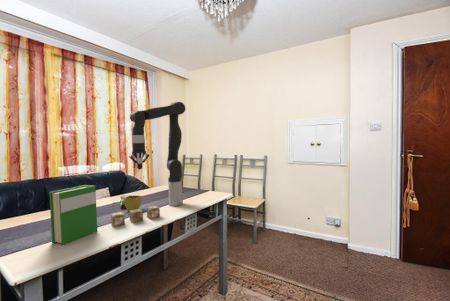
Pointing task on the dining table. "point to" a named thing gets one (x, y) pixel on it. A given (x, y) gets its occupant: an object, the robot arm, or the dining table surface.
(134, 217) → the plain block
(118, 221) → the labelled block
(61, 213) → the hardback book
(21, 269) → the dining table surface
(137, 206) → the flower pot
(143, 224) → the dining table surface
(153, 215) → the labelled block
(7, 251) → the dining table surface
